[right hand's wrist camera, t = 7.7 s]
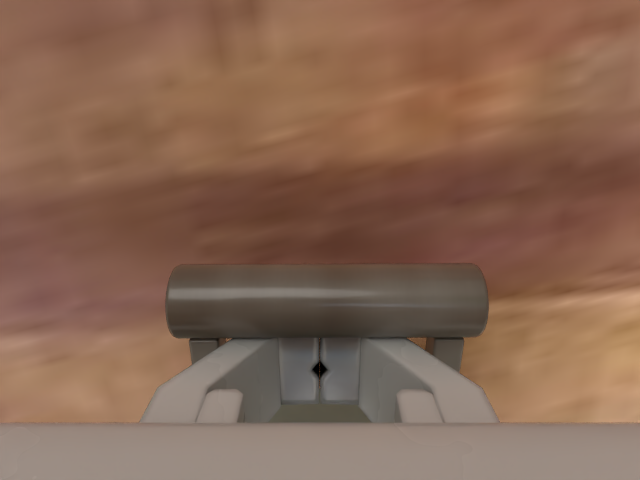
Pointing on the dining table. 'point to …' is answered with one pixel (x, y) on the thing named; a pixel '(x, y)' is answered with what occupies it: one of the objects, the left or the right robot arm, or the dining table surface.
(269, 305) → the drawer
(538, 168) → the dining table surface
